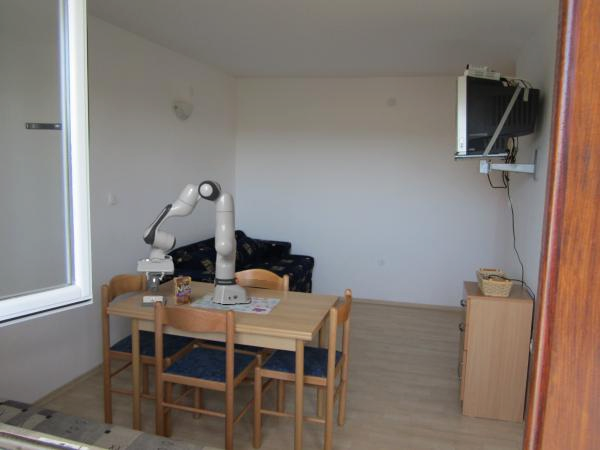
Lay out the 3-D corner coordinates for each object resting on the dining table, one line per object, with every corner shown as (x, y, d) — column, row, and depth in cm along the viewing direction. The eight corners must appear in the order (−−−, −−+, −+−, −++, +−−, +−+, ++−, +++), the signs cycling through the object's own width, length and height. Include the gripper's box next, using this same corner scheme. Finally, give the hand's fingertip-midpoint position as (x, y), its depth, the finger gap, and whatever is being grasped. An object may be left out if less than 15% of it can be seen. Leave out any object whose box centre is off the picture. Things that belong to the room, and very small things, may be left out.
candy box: (175, 305, 255) (175, 278, 254) (172, 303, 259) (173, 277, 257) (190, 303, 260) (191, 277, 259) (188, 302, 264) (188, 275, 262)
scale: (166, 300, 264) (166, 291, 264) (164, 306, 252) (164, 297, 251) (144, 301, 262) (144, 291, 261) (141, 307, 250) (141, 297, 249)
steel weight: (159, 289, 261) (159, 275, 260) (158, 291, 256) (158, 277, 255) (150, 289, 260) (150, 275, 259) (149, 291, 255) (149, 277, 254)
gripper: (137, 256, 261) (134, 276, 252) (174, 256, 265) (172, 277, 256) (138, 262, 266) (135, 282, 257) (175, 263, 270) (173, 283, 261)
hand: (154, 279), depth 257 cm, fingers closed on steel weight, 5 cm apart
